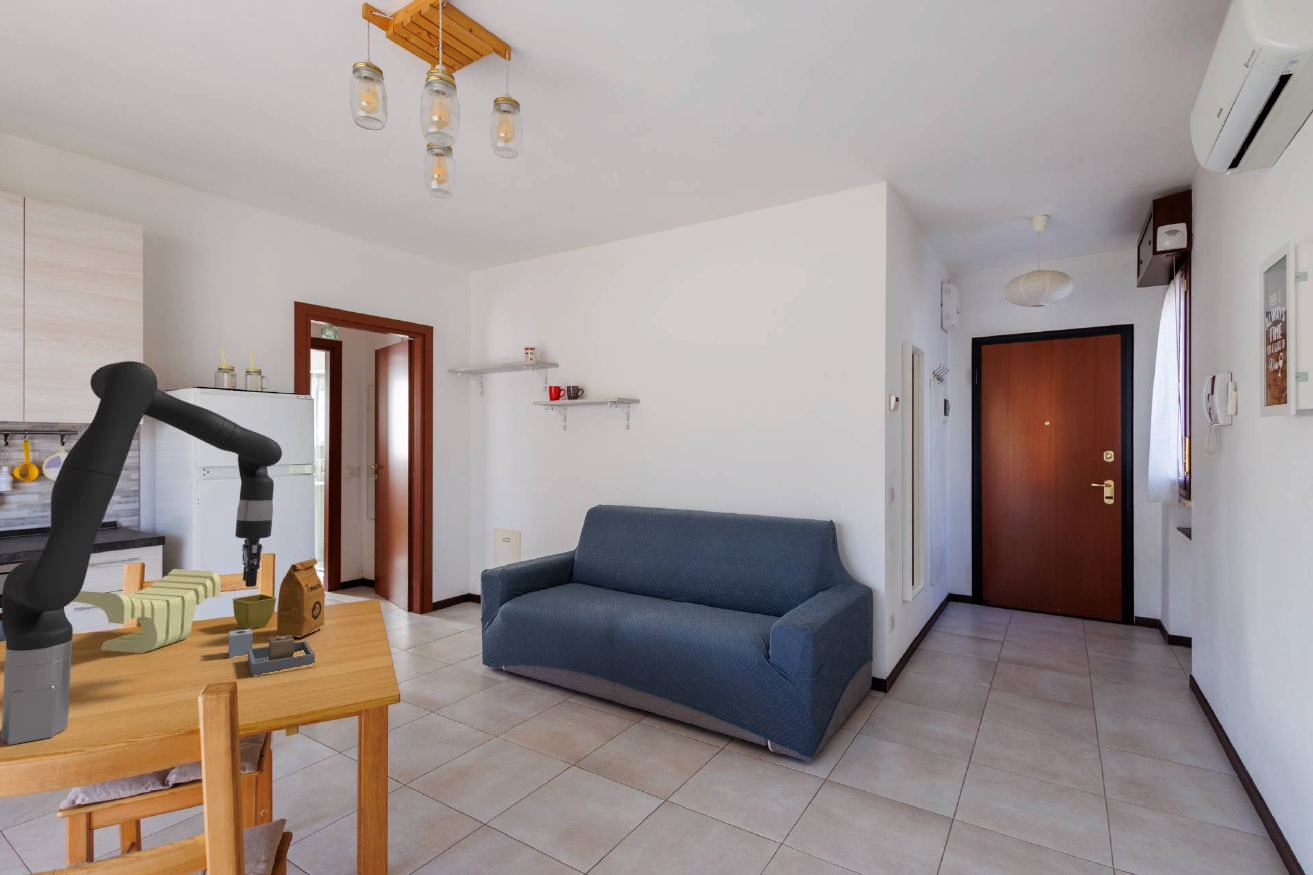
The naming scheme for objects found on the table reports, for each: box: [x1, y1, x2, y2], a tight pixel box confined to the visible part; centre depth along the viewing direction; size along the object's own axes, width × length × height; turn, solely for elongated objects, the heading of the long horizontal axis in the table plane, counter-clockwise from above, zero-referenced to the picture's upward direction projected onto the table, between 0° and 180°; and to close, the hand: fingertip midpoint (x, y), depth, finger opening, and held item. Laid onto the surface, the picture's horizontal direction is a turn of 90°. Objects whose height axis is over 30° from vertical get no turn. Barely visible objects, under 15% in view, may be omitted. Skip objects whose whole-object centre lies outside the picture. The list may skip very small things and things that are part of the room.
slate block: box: [227, 628, 254, 659], centre depth 169 cm, size 5×5×6 cm
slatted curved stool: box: [71, 568, 222, 654], centre depth 174 cm, size 30×16×18 cm, turn 173°
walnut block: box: [268, 635, 295, 661], centre depth 162 cm, size 5×5×6 cm
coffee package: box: [276, 558, 326, 637], centre depth 188 cm, size 10×12×22 cm
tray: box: [246, 640, 316, 676], centre depth 162 cm, size 14×14×3 cm
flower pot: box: [232, 593, 277, 629], centre depth 193 cm, size 9×9×9 cm
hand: (249, 583), depth 155 cm, fingers open, 8 cm apart
